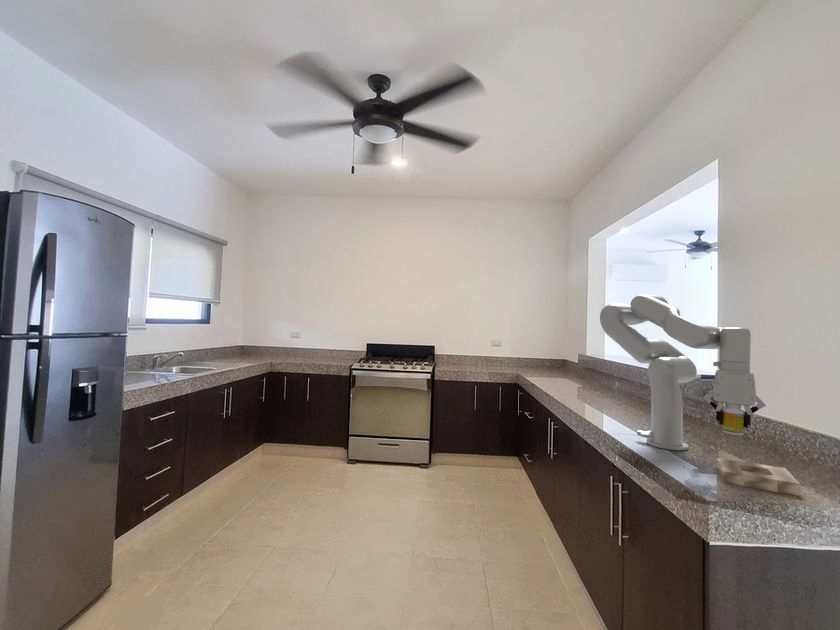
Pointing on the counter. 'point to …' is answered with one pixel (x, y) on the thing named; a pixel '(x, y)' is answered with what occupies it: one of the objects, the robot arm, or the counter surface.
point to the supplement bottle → (733, 419)
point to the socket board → (758, 476)
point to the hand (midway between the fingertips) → (732, 424)
